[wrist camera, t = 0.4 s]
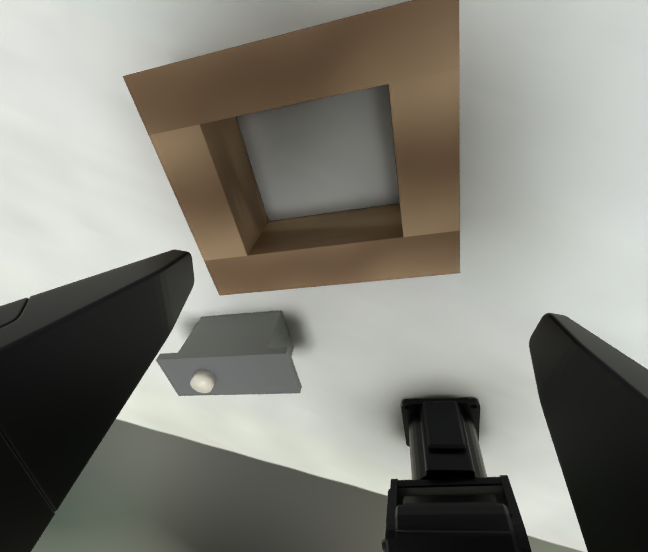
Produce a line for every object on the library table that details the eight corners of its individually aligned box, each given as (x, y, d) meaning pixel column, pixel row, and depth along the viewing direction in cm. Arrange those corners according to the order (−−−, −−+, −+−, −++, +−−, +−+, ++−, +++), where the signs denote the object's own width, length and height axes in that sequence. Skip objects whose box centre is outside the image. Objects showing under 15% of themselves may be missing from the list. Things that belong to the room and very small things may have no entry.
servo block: (311, 345, 30) (297, 402, 25) (203, 351, 32) (173, 404, 27) (299, 308, 28) (283, 362, 23) (185, 317, 30) (150, 368, 25)
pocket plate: (446, 234, 22) (459, 273, 19) (243, 258, 26) (219, 295, 22) (441, 0, 16) (459, -12, 12) (172, 69, 19) (122, 76, 16)
